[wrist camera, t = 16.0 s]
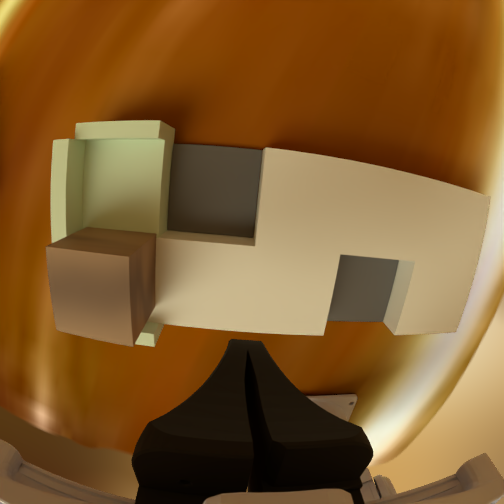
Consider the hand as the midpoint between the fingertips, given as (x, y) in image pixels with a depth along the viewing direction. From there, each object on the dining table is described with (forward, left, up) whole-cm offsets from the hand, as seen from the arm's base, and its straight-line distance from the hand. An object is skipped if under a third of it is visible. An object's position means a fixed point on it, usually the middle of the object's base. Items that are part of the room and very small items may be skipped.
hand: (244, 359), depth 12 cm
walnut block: (+1, +8, -7) cm, 11 cm away
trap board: (+3, -4, -10) cm, 11 cm away
